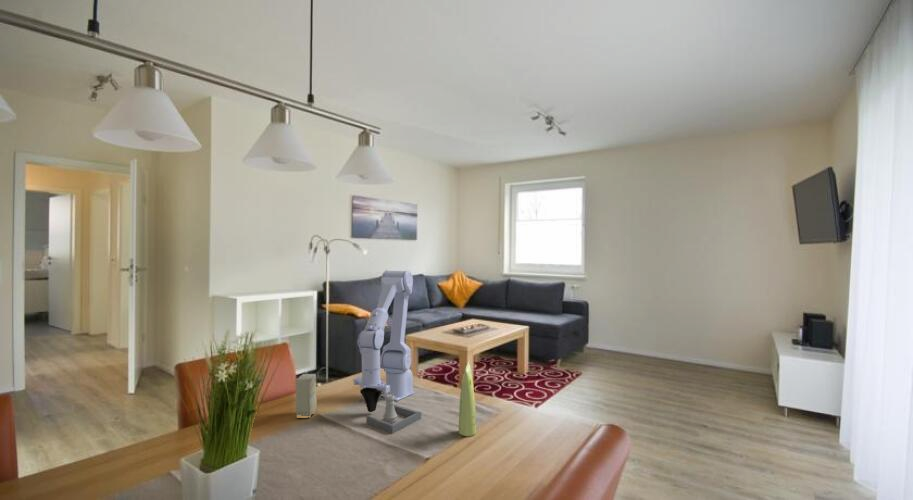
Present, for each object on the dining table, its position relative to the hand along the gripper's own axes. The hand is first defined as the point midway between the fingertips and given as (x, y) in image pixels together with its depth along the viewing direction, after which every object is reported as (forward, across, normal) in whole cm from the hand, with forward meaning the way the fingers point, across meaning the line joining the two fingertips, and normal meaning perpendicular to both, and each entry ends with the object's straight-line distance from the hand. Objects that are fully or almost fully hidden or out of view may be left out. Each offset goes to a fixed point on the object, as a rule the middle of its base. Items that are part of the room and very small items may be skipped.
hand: (371, 410), depth 133 cm
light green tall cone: (+1, +32, +6) cm, 33 cm away
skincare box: (+1, -17, -12) cm, 21 cm away
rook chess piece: (+1, +8, 0) cm, 9 cm away
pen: (+1, +9, 0) cm, 9 cm away
